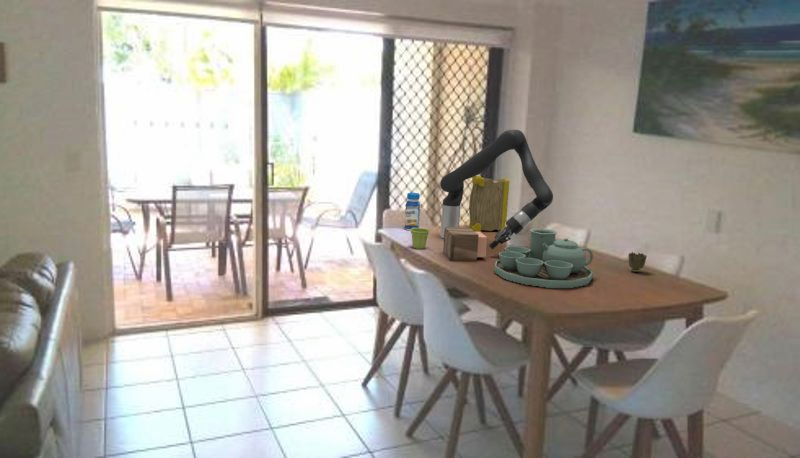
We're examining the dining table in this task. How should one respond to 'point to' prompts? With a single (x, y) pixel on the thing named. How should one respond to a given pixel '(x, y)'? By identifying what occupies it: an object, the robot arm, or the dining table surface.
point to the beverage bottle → (412, 211)
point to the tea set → (545, 262)
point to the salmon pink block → (481, 245)
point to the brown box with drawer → (460, 244)
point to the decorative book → (488, 204)
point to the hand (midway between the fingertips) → (490, 247)
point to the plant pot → (419, 237)
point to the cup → (637, 261)
